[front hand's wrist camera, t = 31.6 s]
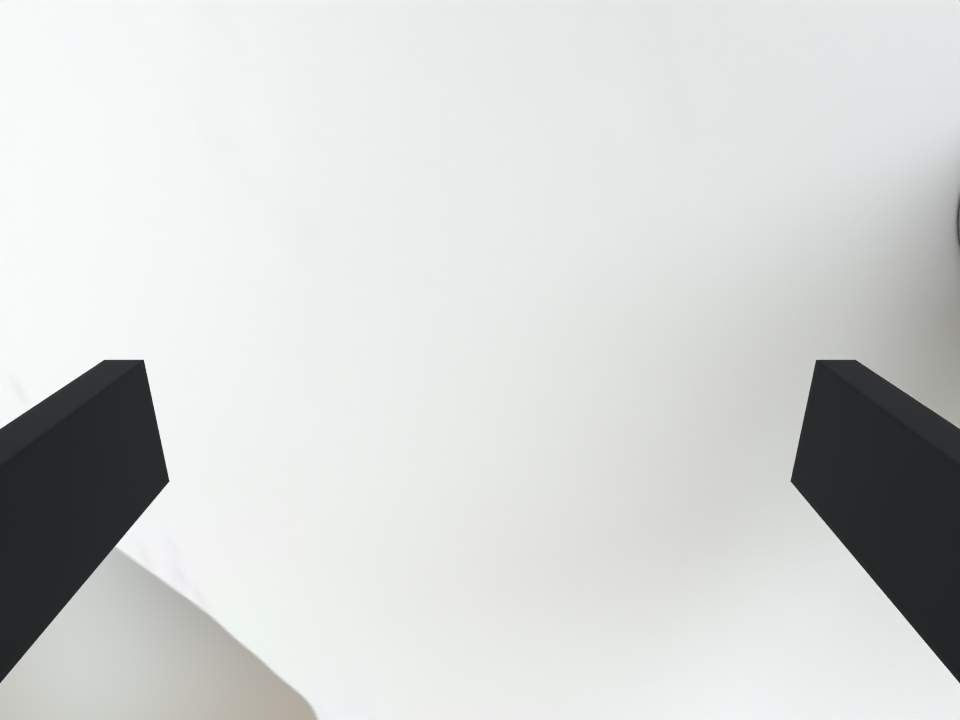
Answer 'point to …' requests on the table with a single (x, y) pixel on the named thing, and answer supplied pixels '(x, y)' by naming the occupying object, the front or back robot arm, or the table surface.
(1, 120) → the table surface
